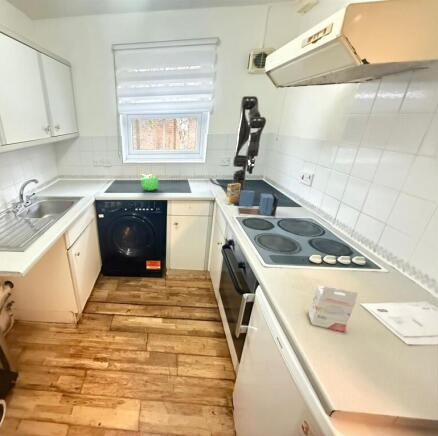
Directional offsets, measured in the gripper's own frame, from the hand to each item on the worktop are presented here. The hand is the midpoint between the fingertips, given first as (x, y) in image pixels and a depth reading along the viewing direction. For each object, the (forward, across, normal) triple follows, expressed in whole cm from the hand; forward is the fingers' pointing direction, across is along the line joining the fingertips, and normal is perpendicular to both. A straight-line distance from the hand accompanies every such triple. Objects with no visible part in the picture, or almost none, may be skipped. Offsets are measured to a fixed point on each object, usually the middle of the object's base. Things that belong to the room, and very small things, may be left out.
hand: (249, 172), depth 167 cm
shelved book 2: (+24, -15, -12) cm, 31 cm away
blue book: (+25, -2, -1) cm, 25 cm away
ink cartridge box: (+26, -110, -10) cm, 114 cm away
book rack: (+25, -14, -6) cm, 29 cm away
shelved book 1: (+24, -14, -9) cm, 29 cm away
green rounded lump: (+25, +28, +78) cm, 87 cm away
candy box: (+25, +4, +8) cm, 27 cm away
